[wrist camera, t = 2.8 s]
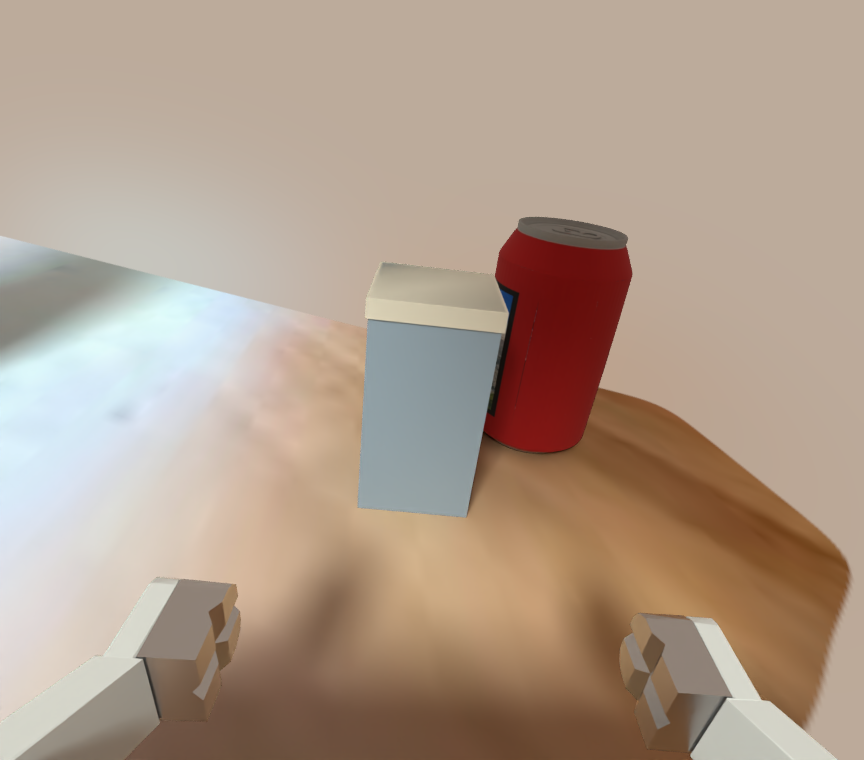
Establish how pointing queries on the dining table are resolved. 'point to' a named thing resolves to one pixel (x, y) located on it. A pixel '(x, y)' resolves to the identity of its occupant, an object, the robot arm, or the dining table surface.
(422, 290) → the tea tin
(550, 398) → the beverage can
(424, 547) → the dining table surface
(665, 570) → the dining table surface
